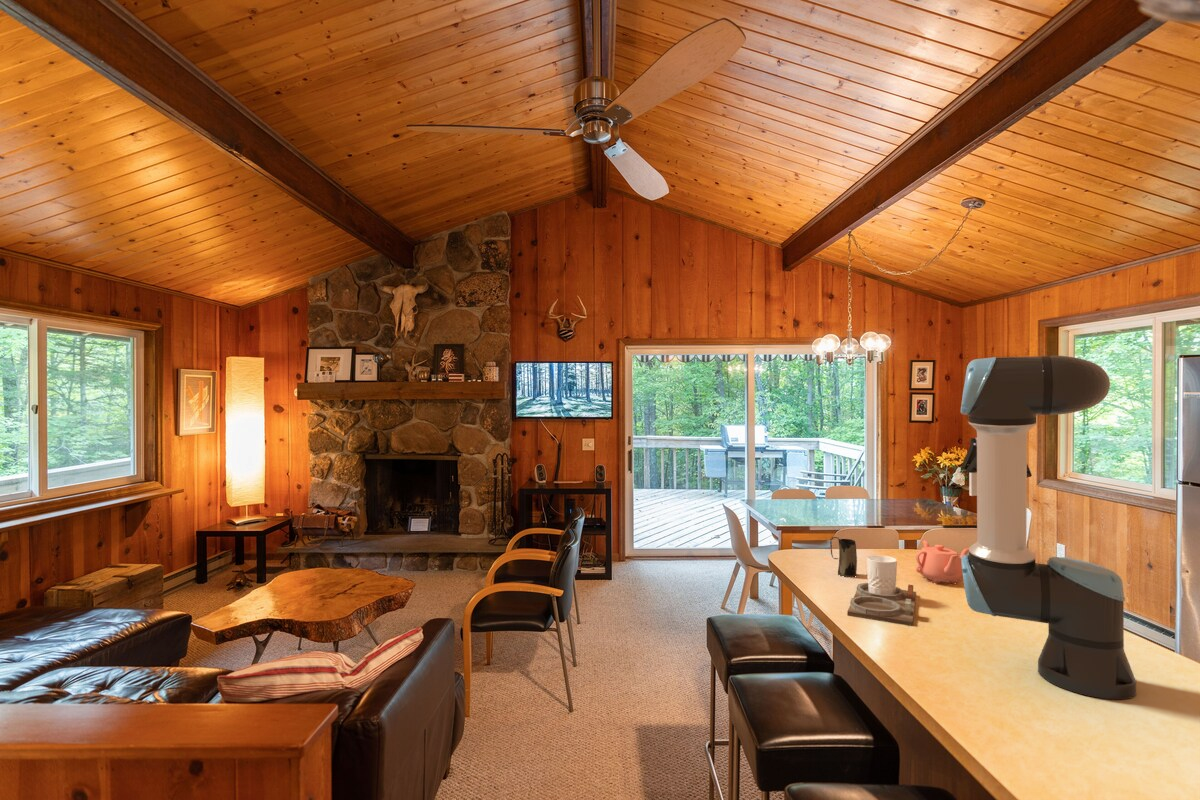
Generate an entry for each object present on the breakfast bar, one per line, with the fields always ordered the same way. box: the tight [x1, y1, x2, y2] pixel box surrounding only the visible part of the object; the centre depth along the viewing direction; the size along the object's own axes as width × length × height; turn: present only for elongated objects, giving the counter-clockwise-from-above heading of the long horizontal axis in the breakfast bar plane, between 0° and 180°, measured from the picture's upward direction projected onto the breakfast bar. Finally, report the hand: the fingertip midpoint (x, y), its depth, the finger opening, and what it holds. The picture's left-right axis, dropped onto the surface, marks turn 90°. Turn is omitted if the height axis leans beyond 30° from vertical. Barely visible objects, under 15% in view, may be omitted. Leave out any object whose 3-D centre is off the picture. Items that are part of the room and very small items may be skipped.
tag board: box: [846, 582, 917, 626], centre depth 164 cm, size 27×15×4 cm, turn 150°
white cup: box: [865, 554, 898, 595], centre depth 170 cm, size 8×8×10 cm
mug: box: [829, 536, 858, 578], centre depth 193 cm, size 8×6×12 cm
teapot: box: [915, 539, 969, 585], centre depth 187 cm, size 14×14×11 cm
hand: (994, 499), depth 164 cm, fingers open, 13 cm apart
